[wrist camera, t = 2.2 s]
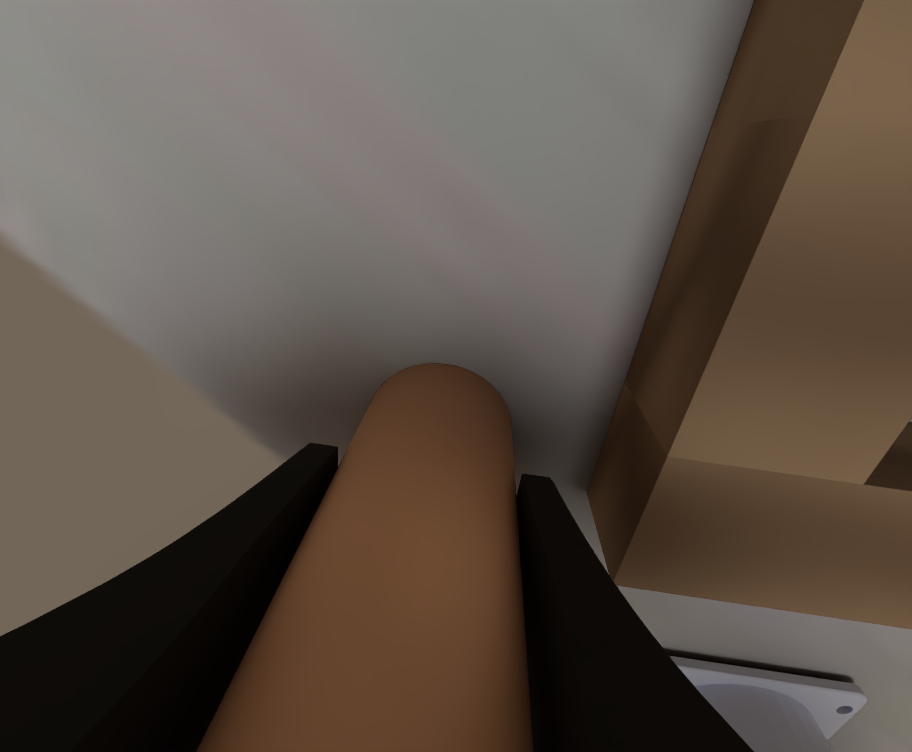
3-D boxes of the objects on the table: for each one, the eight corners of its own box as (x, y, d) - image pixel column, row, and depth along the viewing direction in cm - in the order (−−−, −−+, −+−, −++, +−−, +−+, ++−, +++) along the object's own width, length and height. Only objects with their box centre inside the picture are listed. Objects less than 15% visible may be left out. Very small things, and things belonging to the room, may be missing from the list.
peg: (499, 493, 13) (507, 1051, 5) (365, 474, 13) (158, 993, 5) (524, 375, 11) (606, 958, 3) (369, 353, 11) (46, 866, 3)
